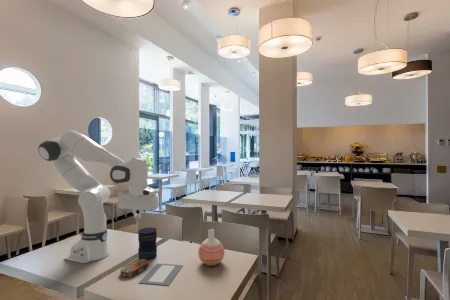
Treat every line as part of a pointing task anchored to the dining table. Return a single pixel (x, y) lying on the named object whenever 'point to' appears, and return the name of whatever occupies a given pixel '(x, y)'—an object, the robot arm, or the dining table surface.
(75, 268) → the dining table surface
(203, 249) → the vase
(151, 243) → the blue oil drum
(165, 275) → the mat
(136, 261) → the tin
